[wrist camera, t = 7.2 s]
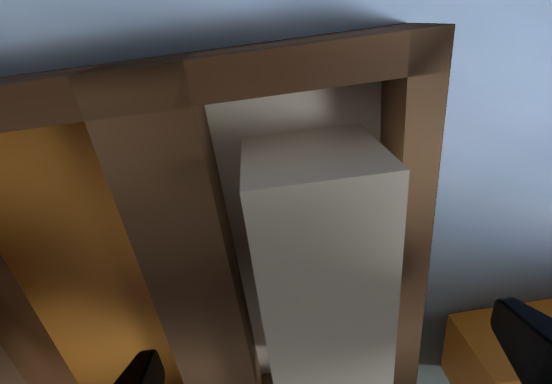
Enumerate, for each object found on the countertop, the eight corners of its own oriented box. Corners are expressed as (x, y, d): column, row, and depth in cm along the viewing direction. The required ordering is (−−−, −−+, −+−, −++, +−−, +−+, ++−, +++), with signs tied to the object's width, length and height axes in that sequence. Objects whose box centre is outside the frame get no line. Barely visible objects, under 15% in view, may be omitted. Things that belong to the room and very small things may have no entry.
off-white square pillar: (241, 138, 10) (239, 192, 7) (359, 123, 10) (409, 169, 7) (274, 347, 14) (282, 439, 11) (358, 335, 14) (390, 423, 11)
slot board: (391, 354, 16) (413, 406, 14) (80, 401, 16) (54, 461, 14) (409, 22, 10) (455, 23, 8) (-111, 92, 9) (-216, 114, 7)
